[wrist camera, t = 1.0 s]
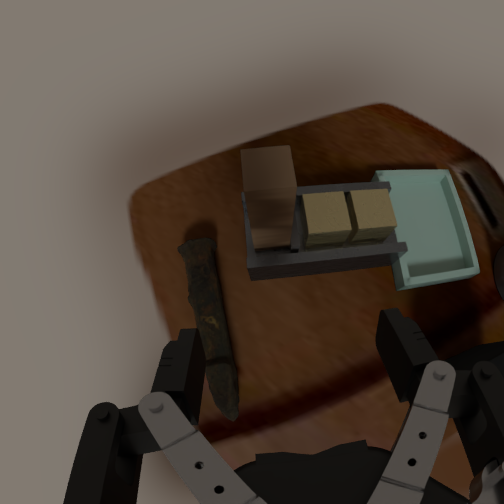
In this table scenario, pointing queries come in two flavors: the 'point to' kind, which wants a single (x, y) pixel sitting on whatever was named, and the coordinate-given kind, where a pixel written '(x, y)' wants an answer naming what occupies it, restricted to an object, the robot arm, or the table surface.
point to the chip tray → (429, 228)
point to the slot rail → (321, 258)
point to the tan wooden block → (270, 197)
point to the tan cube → (370, 215)
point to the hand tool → (211, 323)
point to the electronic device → (479, 357)
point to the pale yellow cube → (324, 219)
